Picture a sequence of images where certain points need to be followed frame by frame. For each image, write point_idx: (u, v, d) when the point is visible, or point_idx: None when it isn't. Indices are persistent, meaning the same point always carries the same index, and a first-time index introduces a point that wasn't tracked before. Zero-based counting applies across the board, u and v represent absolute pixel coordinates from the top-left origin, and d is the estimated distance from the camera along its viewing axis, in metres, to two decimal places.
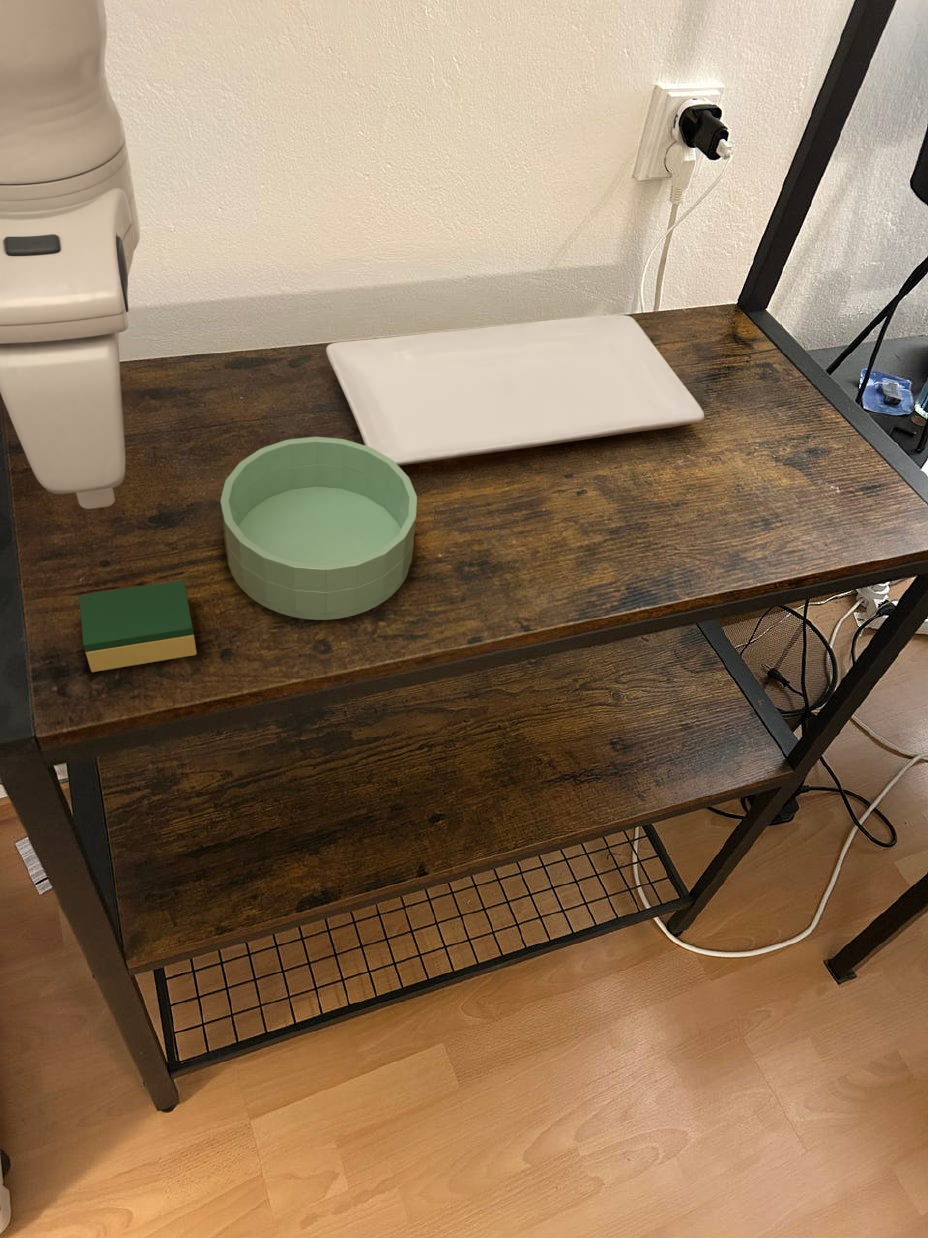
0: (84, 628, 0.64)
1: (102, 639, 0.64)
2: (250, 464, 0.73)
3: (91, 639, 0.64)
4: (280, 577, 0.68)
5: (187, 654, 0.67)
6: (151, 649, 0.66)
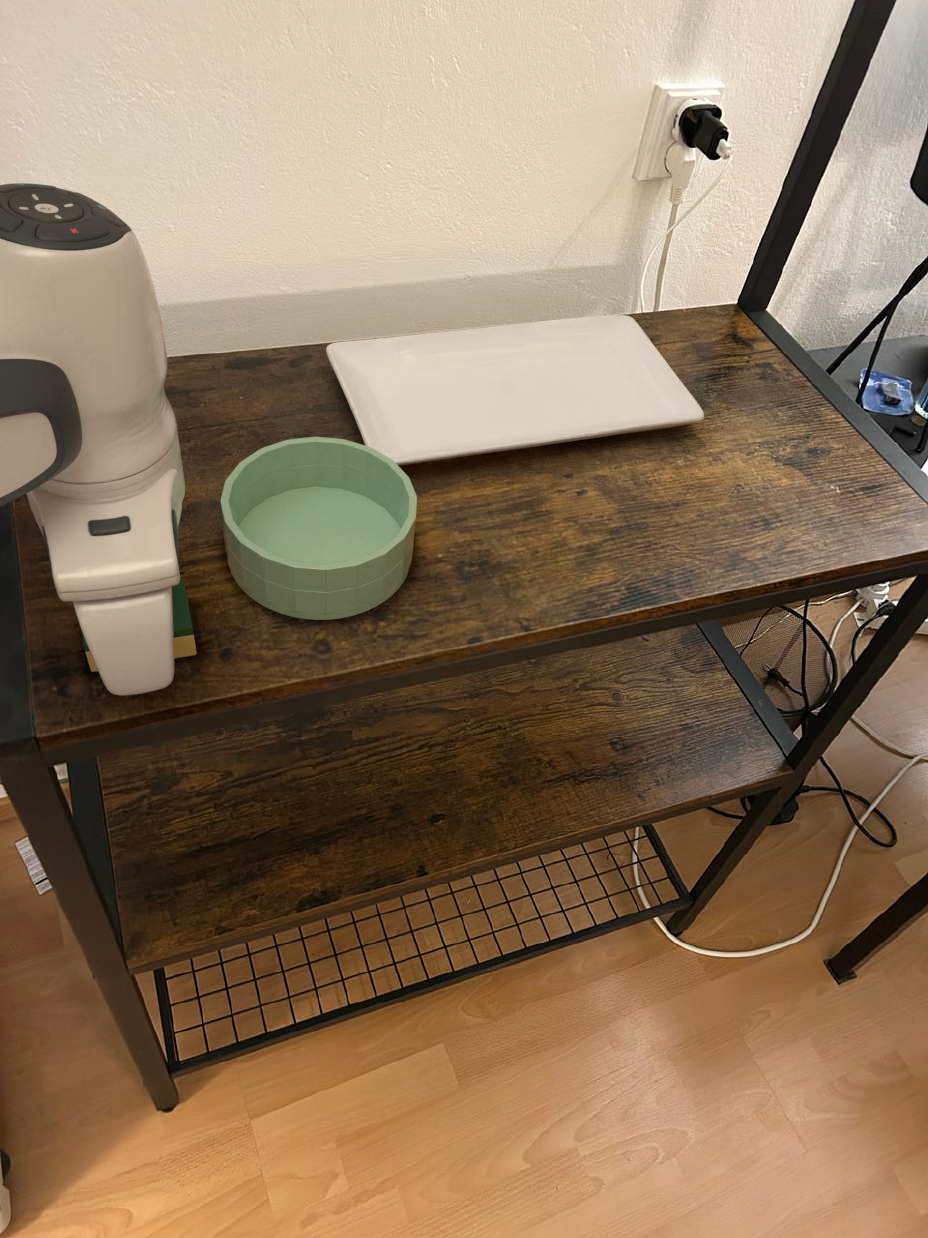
0: None
1: None
2: (250, 464, 0.73)
3: None
4: (280, 577, 0.68)
5: (187, 654, 0.67)
6: None
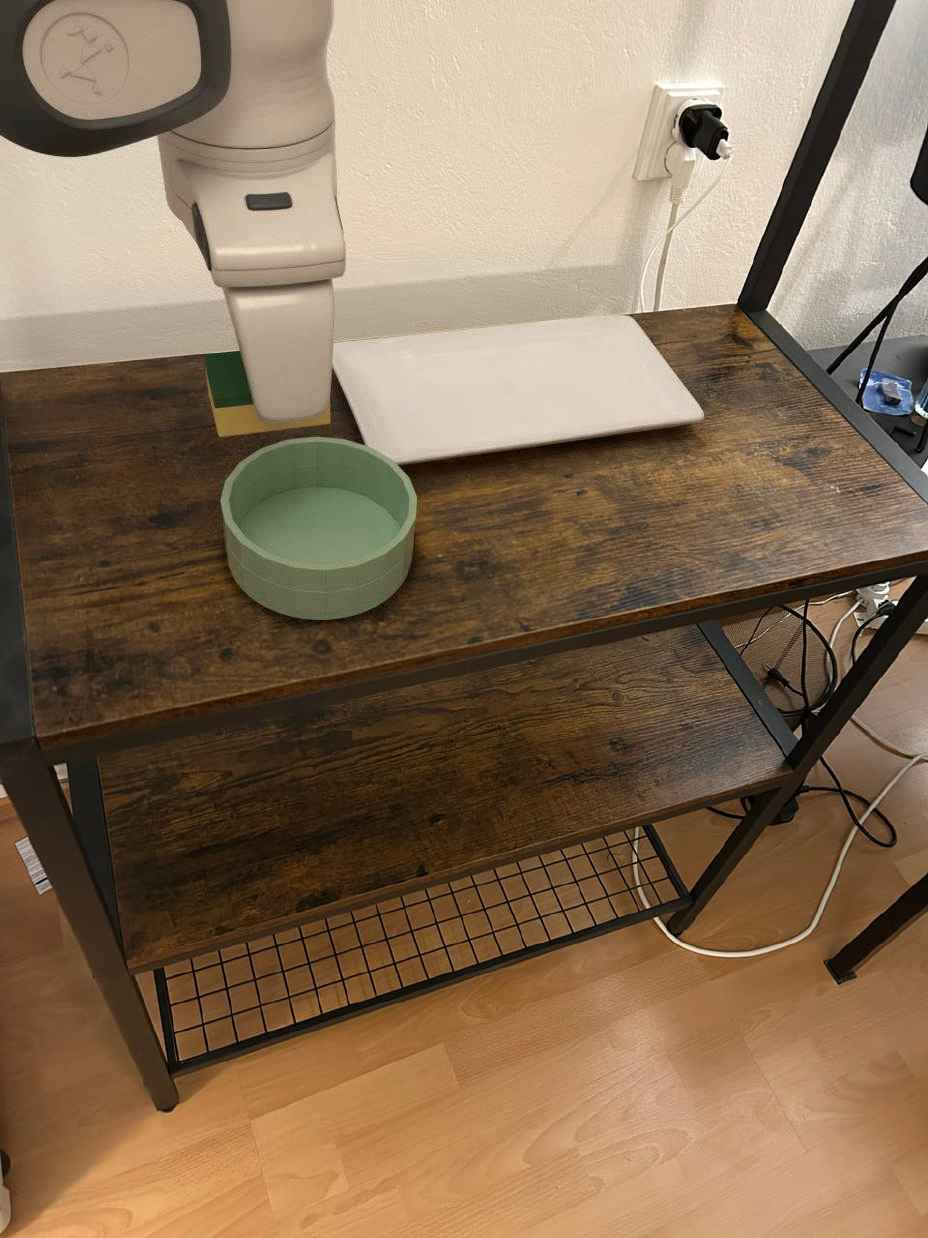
0: (213, 383, 0.58)
1: (233, 393, 0.58)
2: (250, 464, 0.73)
3: (221, 393, 0.58)
4: (280, 577, 0.68)
5: (320, 421, 0.61)
6: None
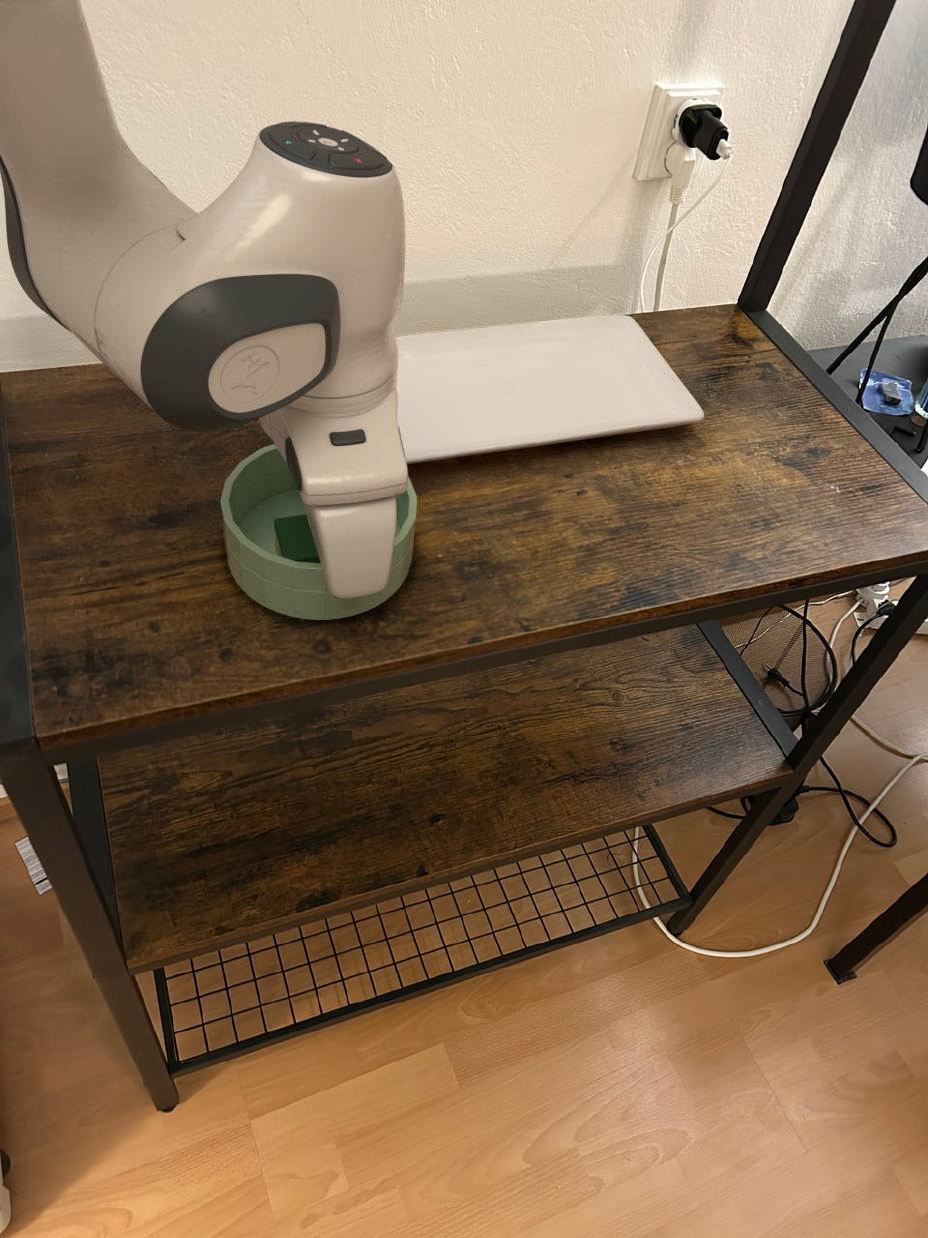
0: (283, 546, 0.70)
1: (301, 556, 0.70)
2: (250, 464, 0.73)
3: (291, 556, 0.69)
4: (280, 577, 0.68)
5: None
6: None
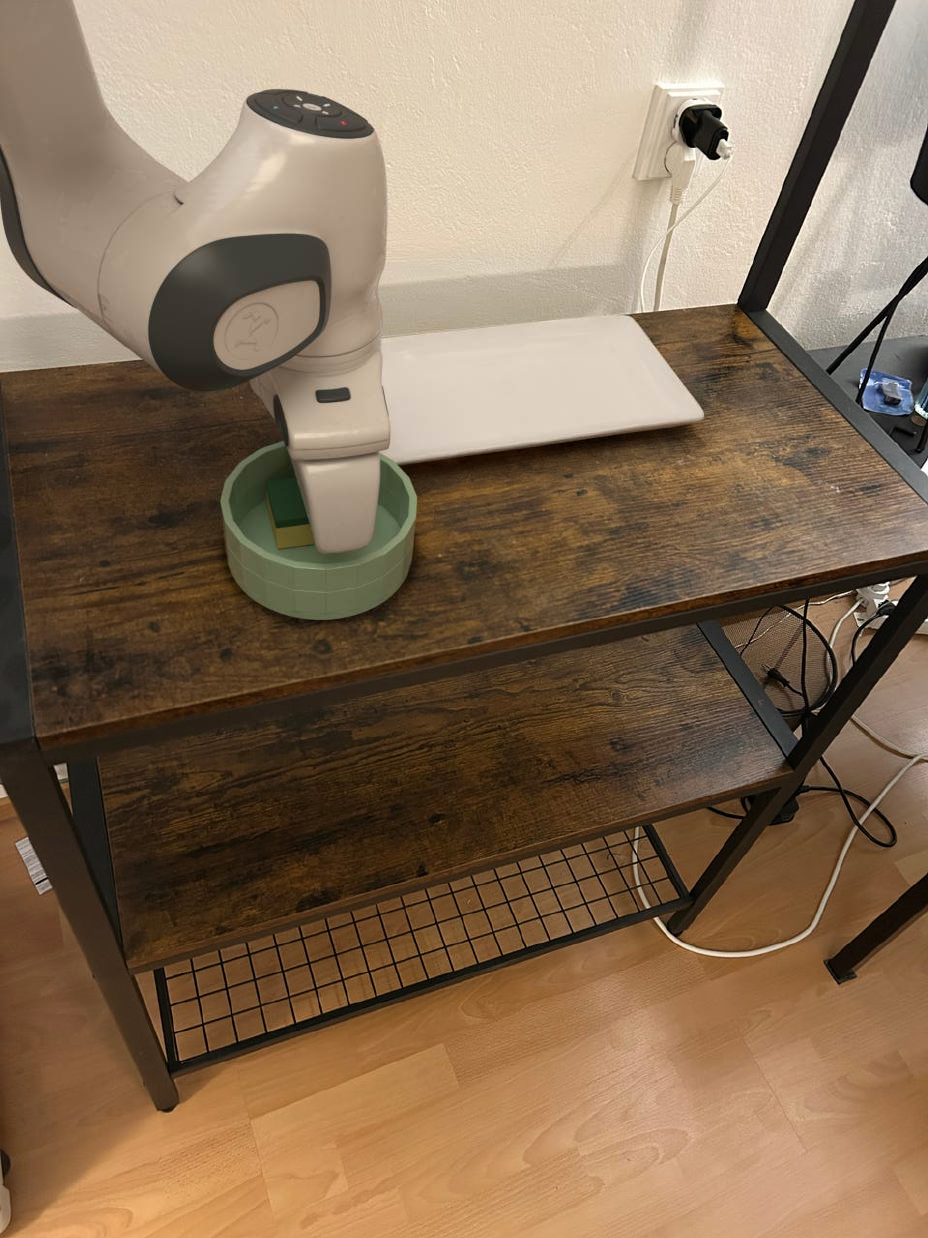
0: (274, 507, 0.72)
1: (291, 517, 0.72)
2: (250, 464, 0.73)
3: (282, 516, 0.72)
4: (280, 577, 0.68)
5: None
6: None
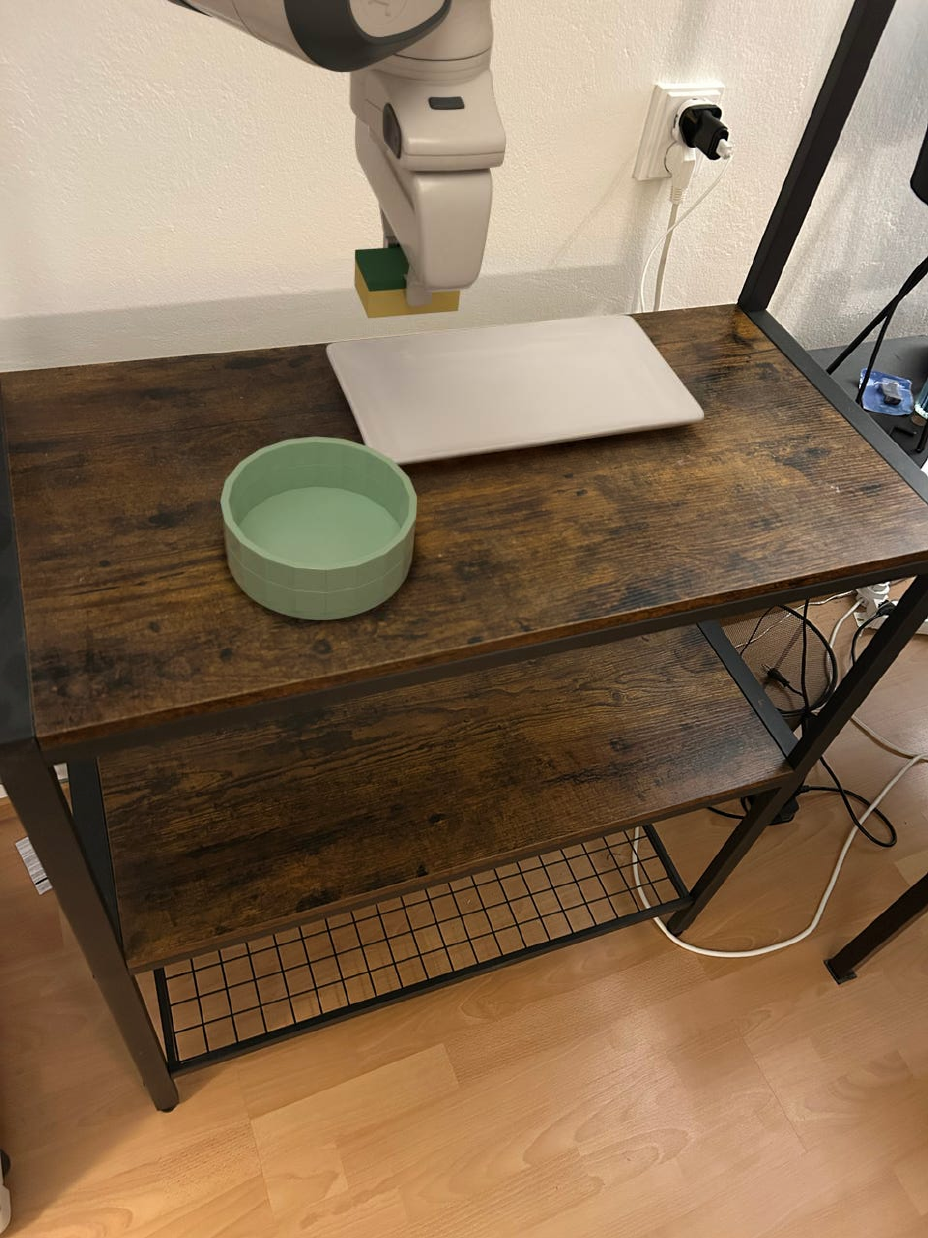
0: (366, 271, 0.70)
1: (385, 279, 0.70)
2: (250, 464, 0.73)
3: (375, 278, 0.69)
4: (280, 577, 0.68)
5: (450, 308, 0.73)
6: None
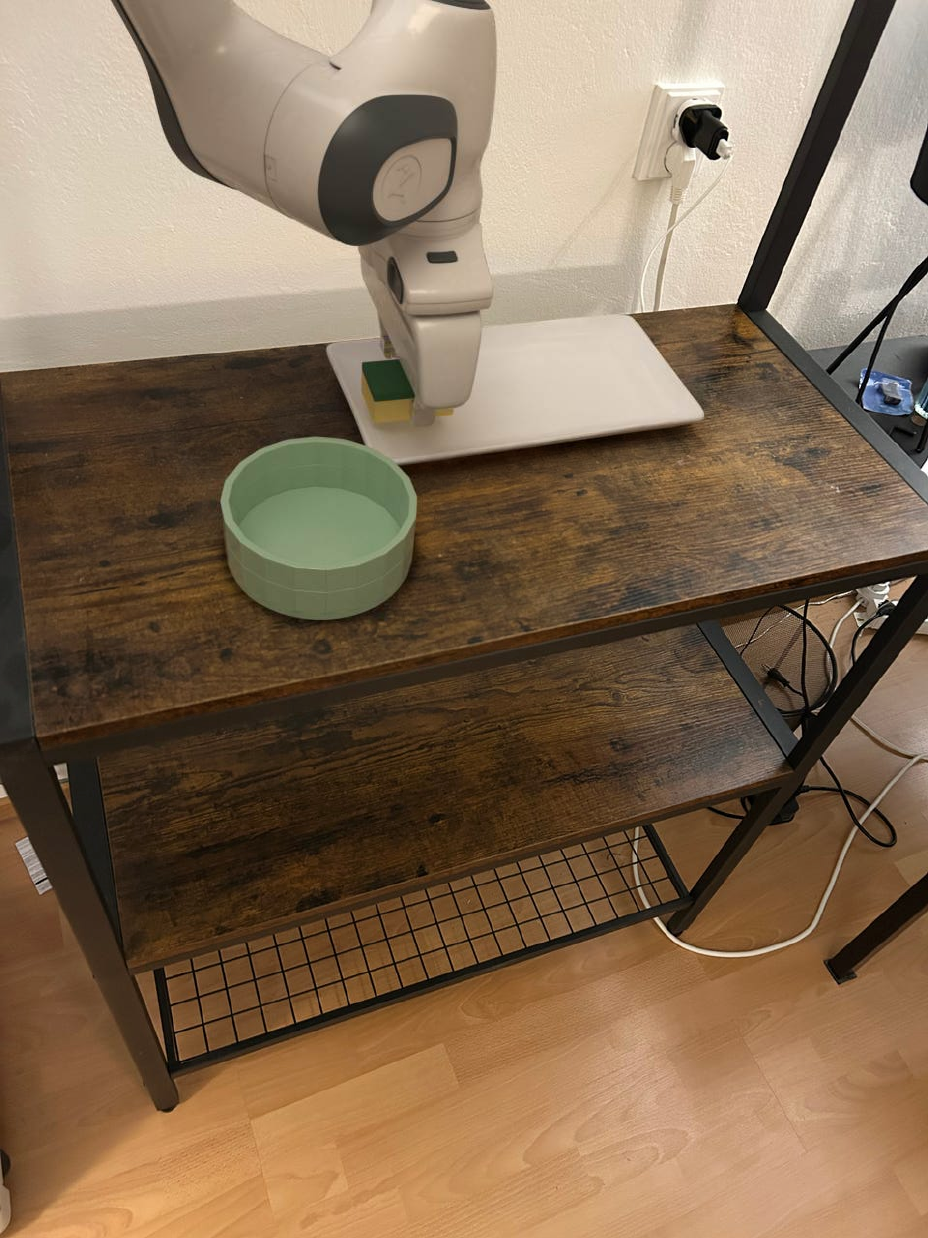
0: (372, 383, 0.79)
1: (388, 391, 0.79)
2: (250, 464, 0.73)
3: (380, 390, 0.79)
4: (280, 577, 0.68)
5: (446, 413, 0.82)
6: None
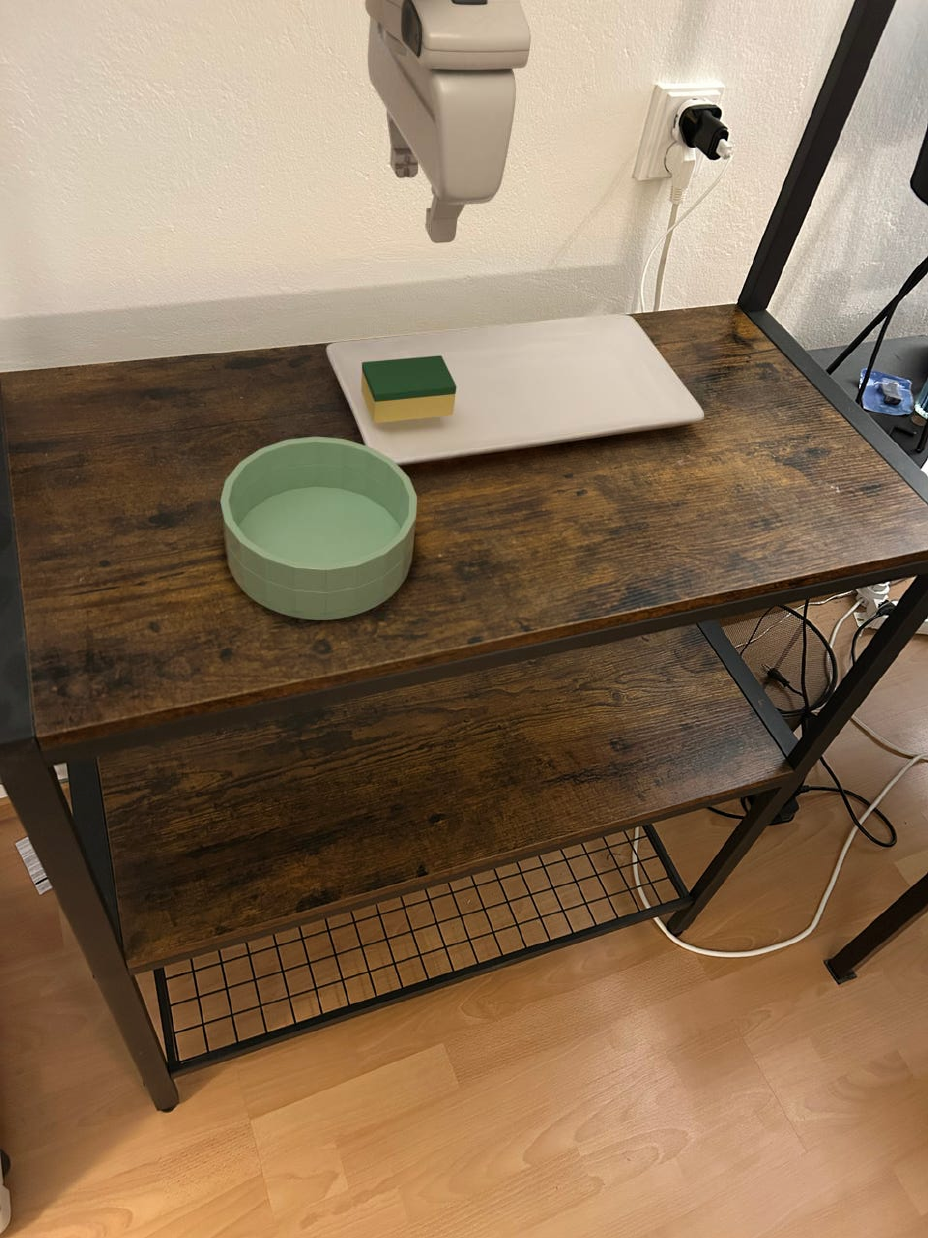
0: (372, 383, 0.79)
1: (388, 391, 0.79)
2: (250, 464, 0.73)
3: (380, 390, 0.79)
4: (280, 577, 0.68)
5: (446, 413, 0.82)
6: (422, 405, 0.81)
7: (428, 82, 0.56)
